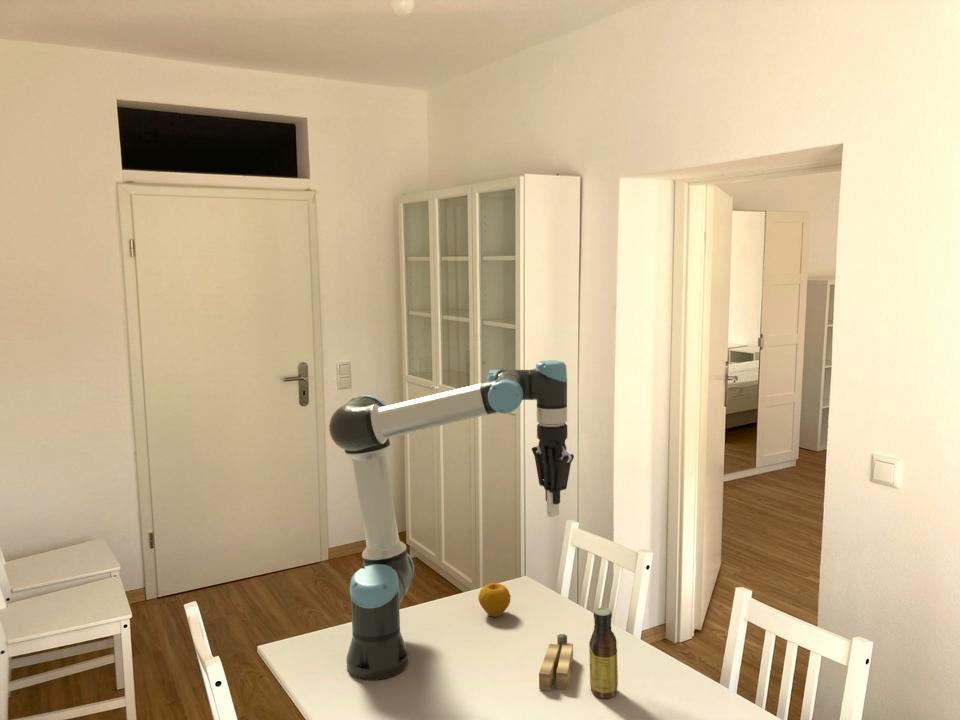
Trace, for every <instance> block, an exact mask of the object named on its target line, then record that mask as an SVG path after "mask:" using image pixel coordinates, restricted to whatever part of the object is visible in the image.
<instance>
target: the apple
mask: <svg viewBox="0 0 960 720" xmlns="http://www.w3.org/2000/svg"><path fill="white" fill-rule="evenodd" d="M509 591H510V590H509V589H508V588H507V587H506V586H505V585H503V584H502V583H499V582H490V583H488V584H485V585H484V586H483V587H482V588H481V589H480V591H479V593H478V598H477V599H478V601H479V604H480V606H481V608H482V609H483V610H484V612H485V613H486V614H488V616H489V617H490V616H491V617H493V618H494V617H495V618H498V617H501V616H502V615H503V614H504V613H505V611H506V610H507V609H508V607H509V605H510V603H511V595H510V592H509Z"/></svg>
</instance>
